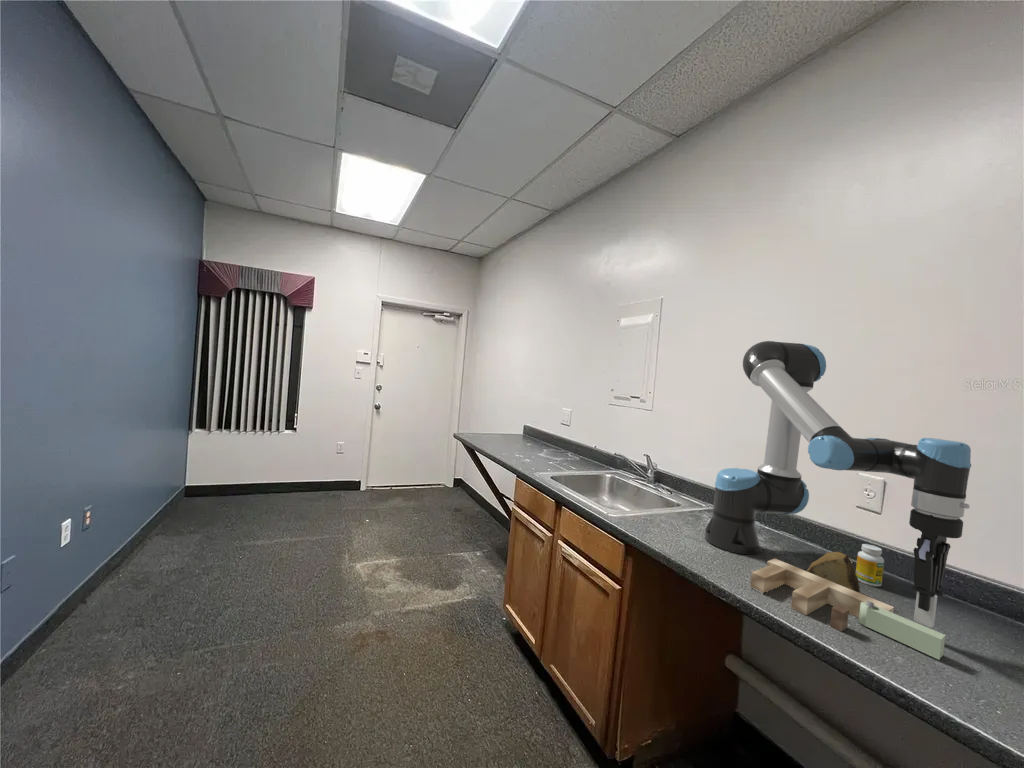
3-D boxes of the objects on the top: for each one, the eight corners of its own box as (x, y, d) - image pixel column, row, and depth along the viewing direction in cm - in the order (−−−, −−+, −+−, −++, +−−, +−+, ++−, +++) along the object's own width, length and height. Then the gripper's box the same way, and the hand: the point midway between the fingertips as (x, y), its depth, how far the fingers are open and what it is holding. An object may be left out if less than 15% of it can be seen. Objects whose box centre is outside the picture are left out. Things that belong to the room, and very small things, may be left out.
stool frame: (743, 584, 99) (745, 569, 99) (773, 572, 107) (774, 558, 107) (867, 645, 78) (869, 625, 78) (891, 624, 86) (894, 607, 86)
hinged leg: (856, 621, 86) (858, 600, 86) (861, 618, 88) (863, 597, 87) (939, 659, 75) (942, 635, 75) (943, 655, 77) (946, 631, 77)
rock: (792, 568, 105) (833, 583, 96) (805, 541, 108) (846, 552, 98) (816, 590, 107) (858, 607, 98) (828, 563, 110) (870, 577, 100)
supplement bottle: (858, 574, 110) (862, 541, 109) (884, 584, 105) (888, 549, 105) (851, 579, 107) (855, 544, 106) (878, 589, 102) (882, 553, 102)
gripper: (953, 523, 76) (939, 643, 76) (972, 516, 82) (959, 626, 83) (900, 510, 82) (888, 620, 83) (922, 504, 89) (910, 606, 89)
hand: (923, 623), depth 83 cm, fingers closed
